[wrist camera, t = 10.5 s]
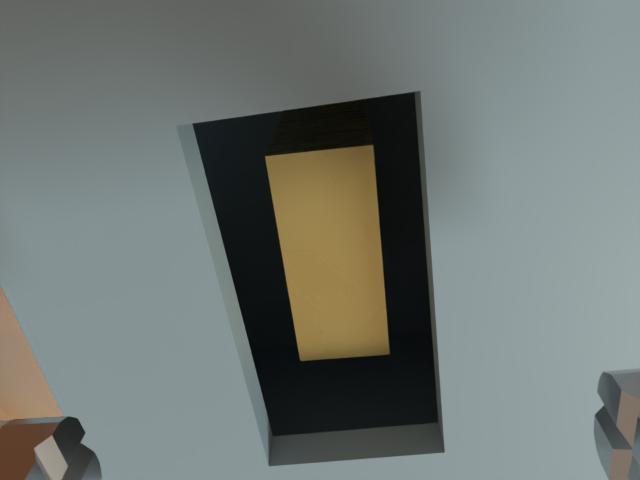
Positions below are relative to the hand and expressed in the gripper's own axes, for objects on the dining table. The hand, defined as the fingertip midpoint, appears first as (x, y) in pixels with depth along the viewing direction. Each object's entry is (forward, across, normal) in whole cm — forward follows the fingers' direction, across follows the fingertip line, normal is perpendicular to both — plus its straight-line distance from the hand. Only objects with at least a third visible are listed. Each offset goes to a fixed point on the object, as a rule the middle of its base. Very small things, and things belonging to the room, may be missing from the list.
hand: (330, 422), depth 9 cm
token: (+12, 0, 0) cm, 12 cm away
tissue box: (+12, 0, 0) cm, 13 cm away
